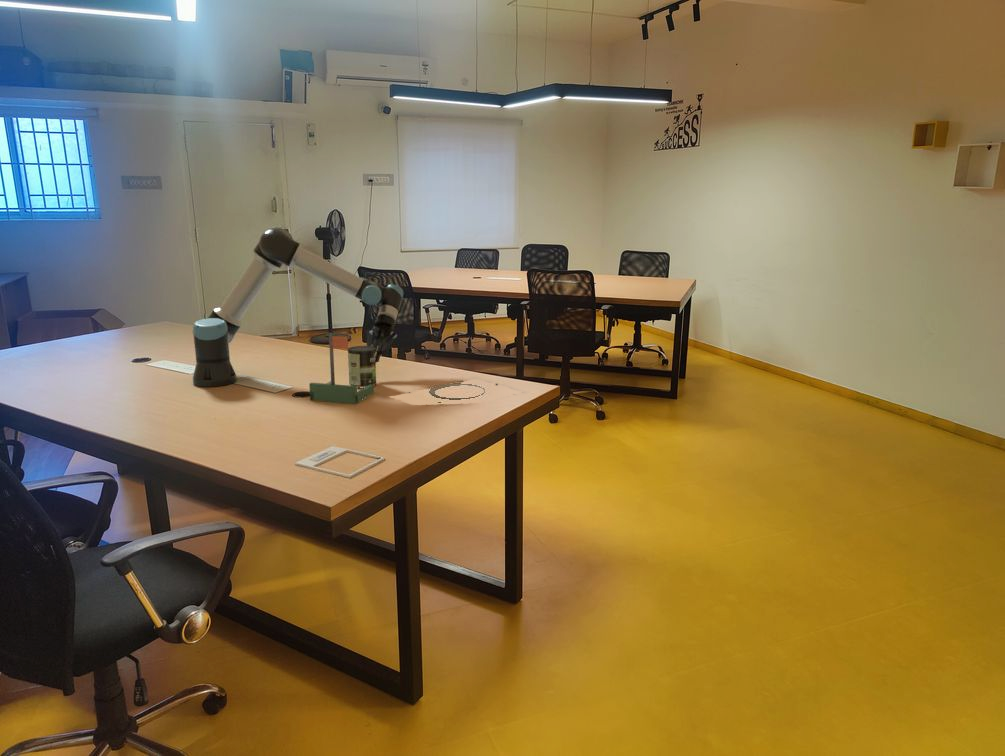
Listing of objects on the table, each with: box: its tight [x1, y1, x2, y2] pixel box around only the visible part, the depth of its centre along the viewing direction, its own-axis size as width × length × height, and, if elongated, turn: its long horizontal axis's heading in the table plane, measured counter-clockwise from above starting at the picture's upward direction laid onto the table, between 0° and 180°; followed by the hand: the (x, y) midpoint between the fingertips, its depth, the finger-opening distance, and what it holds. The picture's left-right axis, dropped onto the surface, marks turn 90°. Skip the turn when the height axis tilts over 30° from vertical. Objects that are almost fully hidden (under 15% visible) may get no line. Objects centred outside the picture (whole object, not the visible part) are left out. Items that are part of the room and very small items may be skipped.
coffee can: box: [346, 345, 377, 387], centre depth 249 cm, size 10×10×14 cm
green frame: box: [308, 332, 375, 405], centre depth 232 cm, size 16×17×24 cm
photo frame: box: [294, 445, 386, 479], centre depth 175 cm, size 15×1×18 cm
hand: (371, 368), depth 256 cm, fingers closed
